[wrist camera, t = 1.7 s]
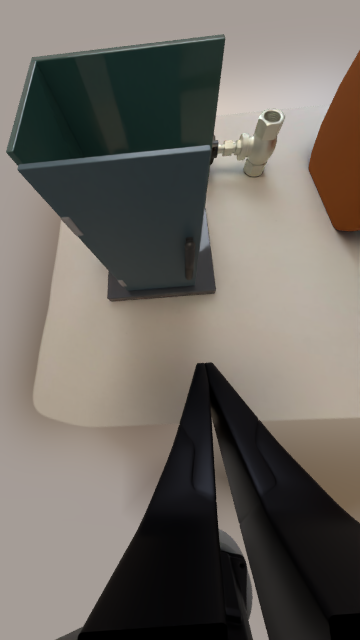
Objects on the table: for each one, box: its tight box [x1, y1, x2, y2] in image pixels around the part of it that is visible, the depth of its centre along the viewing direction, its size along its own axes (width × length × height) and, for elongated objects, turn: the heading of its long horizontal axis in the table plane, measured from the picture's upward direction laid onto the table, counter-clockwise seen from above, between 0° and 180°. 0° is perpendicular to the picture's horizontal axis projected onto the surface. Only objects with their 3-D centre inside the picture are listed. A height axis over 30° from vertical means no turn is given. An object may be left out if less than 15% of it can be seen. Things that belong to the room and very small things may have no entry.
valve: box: [210, 109, 285, 176], centre depth 26 cm, size 7×7×12 cm
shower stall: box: [6, 34, 225, 301], centre depth 18 cm, size 16×16×15 cm
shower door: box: [18, 145, 211, 291], centre depth 15 cm, size 2×10×15 cm, turn 94°
